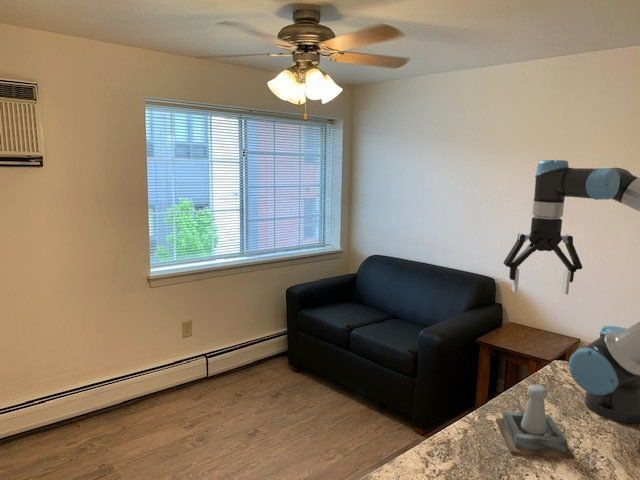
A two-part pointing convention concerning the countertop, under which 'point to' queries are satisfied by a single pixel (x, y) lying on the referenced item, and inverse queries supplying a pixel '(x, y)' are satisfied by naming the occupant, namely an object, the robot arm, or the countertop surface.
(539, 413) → the salt shaker
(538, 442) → the collar socket
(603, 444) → the countertop surface
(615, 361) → the robot arm
